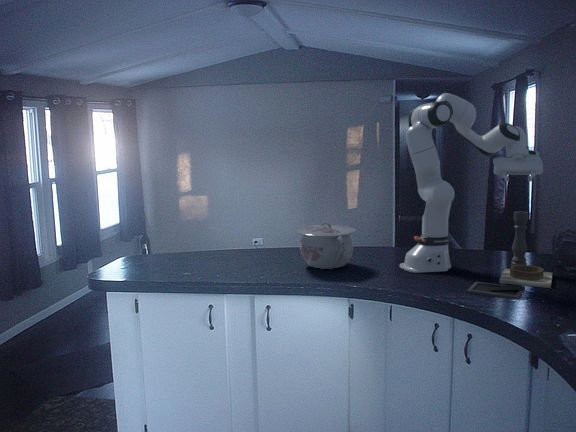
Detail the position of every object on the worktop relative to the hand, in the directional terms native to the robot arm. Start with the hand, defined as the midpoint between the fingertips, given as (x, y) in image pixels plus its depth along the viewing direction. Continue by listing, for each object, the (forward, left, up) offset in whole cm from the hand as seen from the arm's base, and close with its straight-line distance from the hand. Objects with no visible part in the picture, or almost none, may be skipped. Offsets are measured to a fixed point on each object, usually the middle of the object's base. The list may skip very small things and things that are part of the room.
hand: (518, 180), depth 233 cm
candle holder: (-7, -10, -37) cm, 39 cm away
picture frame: (-35, -32, -38) cm, 61 cm away
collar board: (-14, -23, -37) cm, 46 cm away
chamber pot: (-80, +28, -37) cm, 92 cm away
